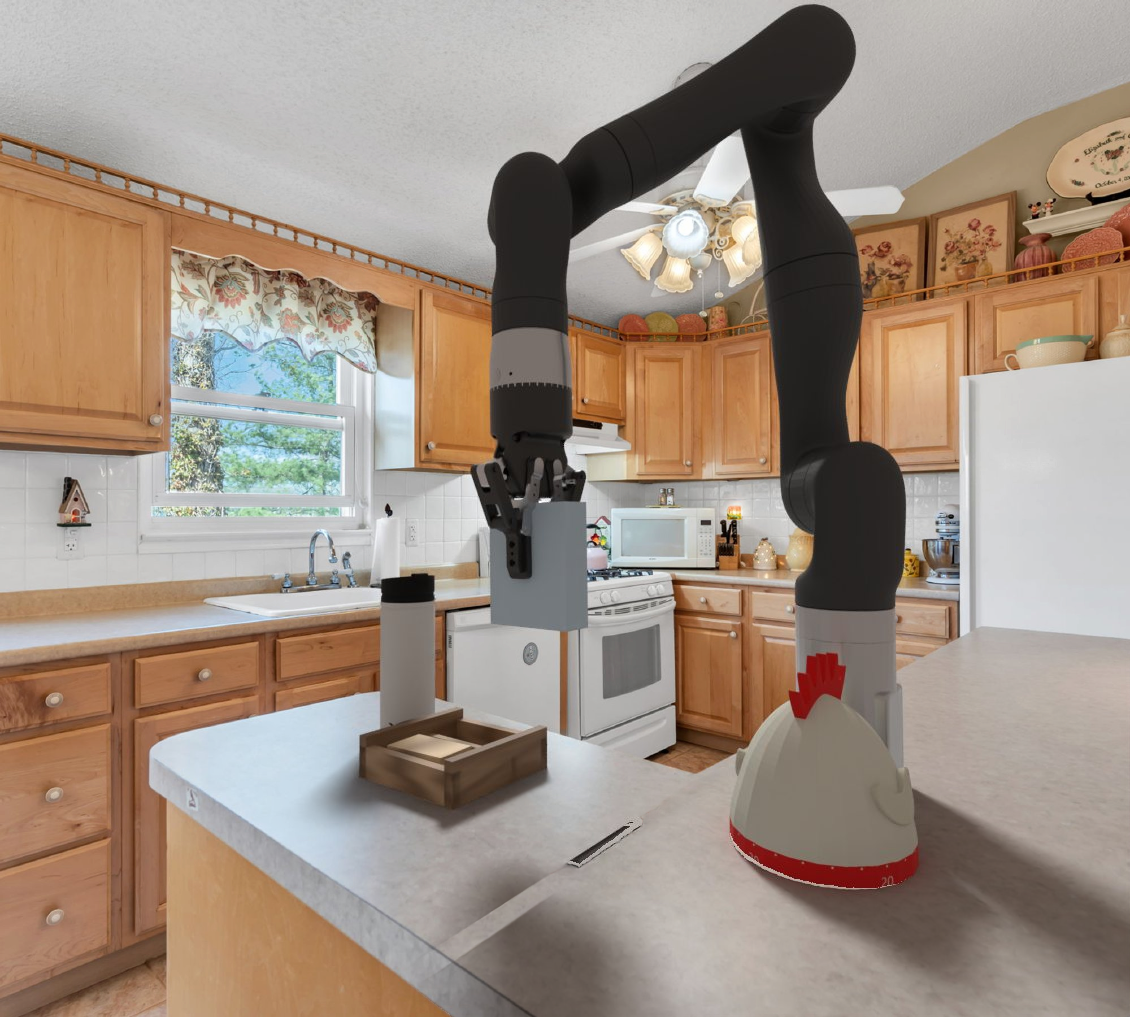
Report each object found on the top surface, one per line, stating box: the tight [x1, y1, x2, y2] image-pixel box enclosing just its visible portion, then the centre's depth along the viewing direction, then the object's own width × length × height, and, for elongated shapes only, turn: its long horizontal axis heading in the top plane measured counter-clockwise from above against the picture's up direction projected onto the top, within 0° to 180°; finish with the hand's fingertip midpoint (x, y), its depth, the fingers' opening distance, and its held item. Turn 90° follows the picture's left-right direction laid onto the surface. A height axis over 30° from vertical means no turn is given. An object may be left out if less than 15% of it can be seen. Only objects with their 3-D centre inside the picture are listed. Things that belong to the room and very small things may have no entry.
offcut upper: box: [387, 734, 471, 765], centre depth 66 cm, size 7×4×2 cm, turn 57°
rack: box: [358, 706, 548, 810], centre depth 68 cm, size 13×13×5 cm
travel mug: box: [379, 572, 436, 729], centre depth 80 cm, size 6×7×20 cm
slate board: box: [488, 501, 589, 633], centre depth 62 cm, size 9×3×11 cm, turn 51°
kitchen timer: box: [729, 652, 920, 888], centre depth 55 cm, size 14×14×15 cm
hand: (534, 576), depth 62 cm, fingers closed on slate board, 3 cm apart
